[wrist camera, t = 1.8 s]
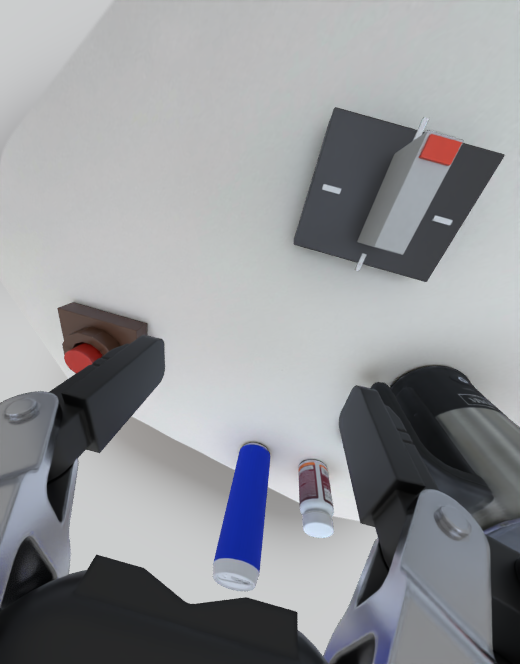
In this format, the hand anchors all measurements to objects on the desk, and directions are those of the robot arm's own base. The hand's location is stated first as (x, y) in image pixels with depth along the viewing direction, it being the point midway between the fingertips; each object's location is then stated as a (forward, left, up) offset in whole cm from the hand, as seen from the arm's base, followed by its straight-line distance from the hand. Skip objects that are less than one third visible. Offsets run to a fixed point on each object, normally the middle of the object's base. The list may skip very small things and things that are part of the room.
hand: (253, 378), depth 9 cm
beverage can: (+4, -28, -17) cm, 33 cm away
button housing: (-20, -14, -16) cm, 29 cm away
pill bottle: (+14, -28, -17) cm, 36 cm away
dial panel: (+6, +9, -16) cm, 20 cm away
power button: (-20, -14, -13) cm, 27 cm away
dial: (+6, +9, -13) cm, 17 cm away
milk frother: (+20, -12, -17) cm, 29 cm away
